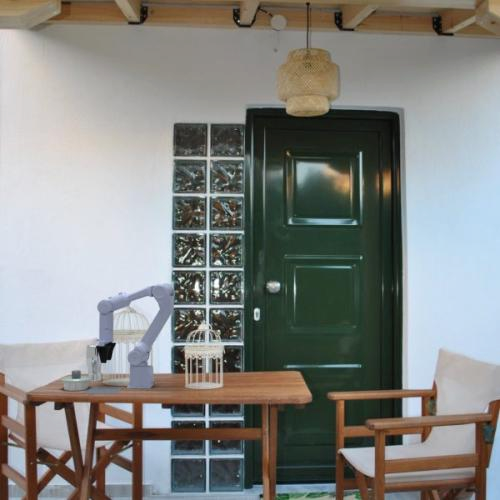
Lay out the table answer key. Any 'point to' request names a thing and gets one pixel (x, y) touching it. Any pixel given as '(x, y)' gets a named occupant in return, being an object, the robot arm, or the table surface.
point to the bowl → (75, 386)
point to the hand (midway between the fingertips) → (106, 361)
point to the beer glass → (93, 363)
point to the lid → (76, 377)
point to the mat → (103, 390)
